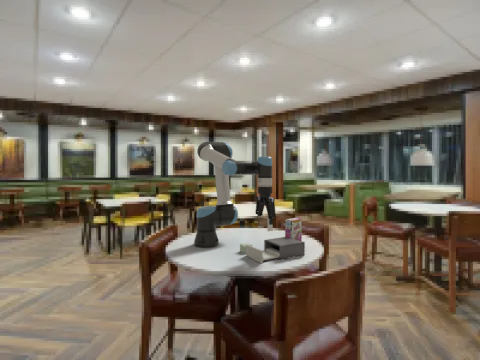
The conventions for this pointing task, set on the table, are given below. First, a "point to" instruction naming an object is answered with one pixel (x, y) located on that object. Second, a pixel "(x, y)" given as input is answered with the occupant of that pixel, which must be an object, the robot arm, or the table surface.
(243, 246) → the pale green block
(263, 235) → the table surface
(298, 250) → the housing
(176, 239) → the table surface
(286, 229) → the candy bar box
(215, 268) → the table surface
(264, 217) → the brown flattened rounded piece
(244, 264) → the table surface
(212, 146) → the robot arm
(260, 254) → the cream pull-out drawer
